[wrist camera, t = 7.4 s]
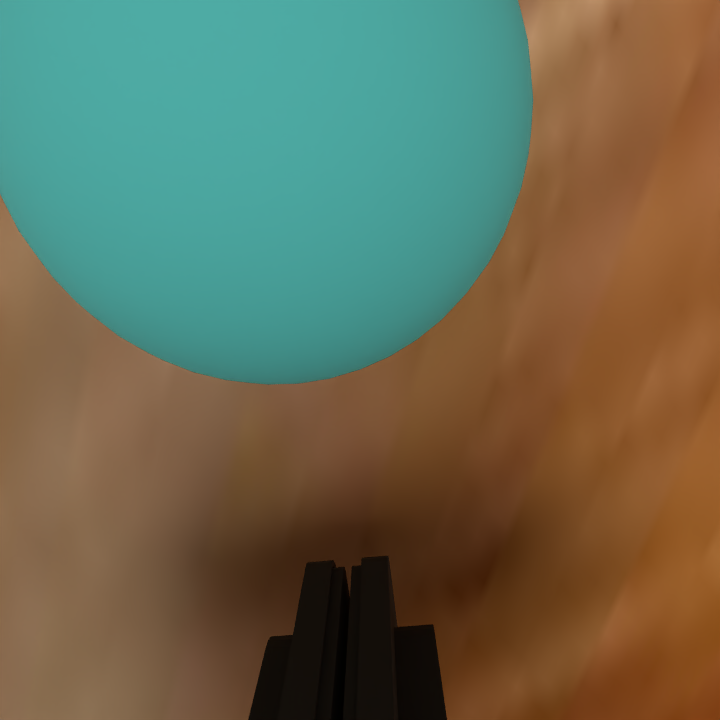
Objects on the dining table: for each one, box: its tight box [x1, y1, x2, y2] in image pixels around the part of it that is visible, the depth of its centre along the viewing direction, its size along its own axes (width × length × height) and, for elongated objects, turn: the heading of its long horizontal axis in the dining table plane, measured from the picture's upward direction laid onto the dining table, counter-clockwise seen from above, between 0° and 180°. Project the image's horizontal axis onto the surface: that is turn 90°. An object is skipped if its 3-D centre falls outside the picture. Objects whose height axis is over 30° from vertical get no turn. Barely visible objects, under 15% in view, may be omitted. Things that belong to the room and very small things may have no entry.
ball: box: [0, 0, 533, 384], centre depth 6 cm, size 6×6×6 cm
